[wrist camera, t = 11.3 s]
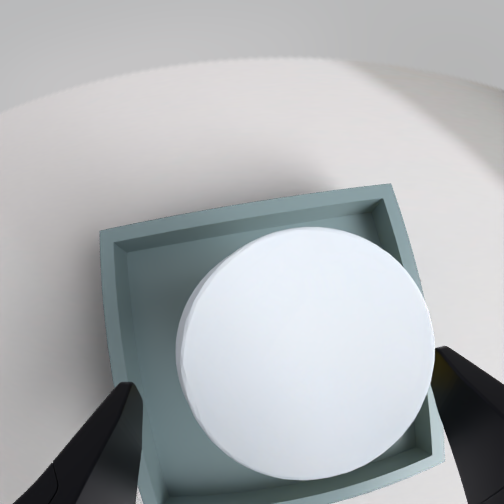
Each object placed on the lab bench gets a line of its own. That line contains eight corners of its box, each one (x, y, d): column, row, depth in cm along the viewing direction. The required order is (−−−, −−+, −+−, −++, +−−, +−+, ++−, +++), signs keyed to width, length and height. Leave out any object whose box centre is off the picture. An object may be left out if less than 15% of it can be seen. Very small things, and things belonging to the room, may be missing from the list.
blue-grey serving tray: (407, 441, 17) (444, 461, 12) (170, 488, 16) (149, 522, 12) (364, 216, 21) (390, 183, 17) (130, 255, 21) (99, 230, 16)
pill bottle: (351, 380, 16) (498, 425, 5) (236, 423, 15) (207, 555, 4) (310, 268, 17) (397, 148, 6) (195, 308, 17) (93, 244, 6)
